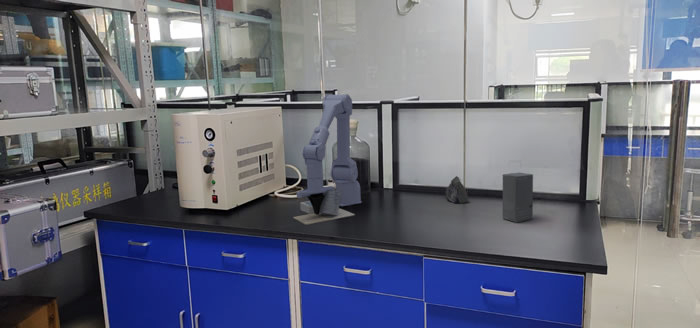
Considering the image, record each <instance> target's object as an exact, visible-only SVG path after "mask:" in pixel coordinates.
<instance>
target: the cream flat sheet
mask: <svg viewBox="0 0 700 328" xmlns="http://www.w3.org/2000/svg"><path fill="white" fill-rule="evenodd" d="M355 215H356V214H355V213H352V212H350V211H348V210H345V209H342V208H340V207H339V211H338V215H337V216H336V215H329V214H322V213H319V214H318V215H316V214H314V213H313V214H308V213H306V214H303V215H297V216H293V217H292V219H294V220H296V221H297V222H299V223H301V224H303V225H305V226H307V225H308V226H309V225H312V224H317V223H323V222H327V221H334V220H337V219H338V220H339V219H342V218H348V217H349V218H350V217H354V216H355Z"/></svg>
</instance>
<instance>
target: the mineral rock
mask: <svg viewBox="0 0 700 328" xmlns="http://www.w3.org/2000/svg"><path fill="white" fill-rule="evenodd" d="M445 197H446V199H448V200H449V202H452V203H453V204H466V203H467V202H469V197H468V193H467V190H466V187H465V185H464V184H463V183H462V181H461V179H460V177H458V176H457V175H456V176H455V177H454V178H452V180H451V181H450V183H449V185H448V186H447V187H446V189H445Z"/></svg>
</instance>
